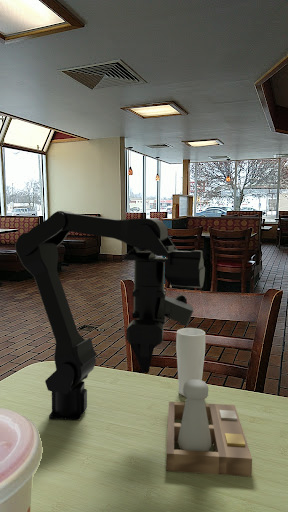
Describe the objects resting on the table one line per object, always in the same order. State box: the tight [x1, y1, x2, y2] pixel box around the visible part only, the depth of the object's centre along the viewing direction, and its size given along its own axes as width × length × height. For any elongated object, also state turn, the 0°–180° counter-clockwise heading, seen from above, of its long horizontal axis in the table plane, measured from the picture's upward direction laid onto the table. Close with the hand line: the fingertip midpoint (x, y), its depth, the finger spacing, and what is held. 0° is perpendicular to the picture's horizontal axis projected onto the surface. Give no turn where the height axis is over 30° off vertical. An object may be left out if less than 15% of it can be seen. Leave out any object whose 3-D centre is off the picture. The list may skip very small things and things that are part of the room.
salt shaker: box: [177, 380, 212, 452], centre depth 65 cm, size 6×6×13 cm
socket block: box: [165, 401, 253, 478], centre depth 69 cm, size 14×18×3 cm
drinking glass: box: [175, 327, 206, 397], centre depth 89 cm, size 7×7×15 cm
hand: (147, 363), depth 73 cm, fingers open, 9 cm apart
